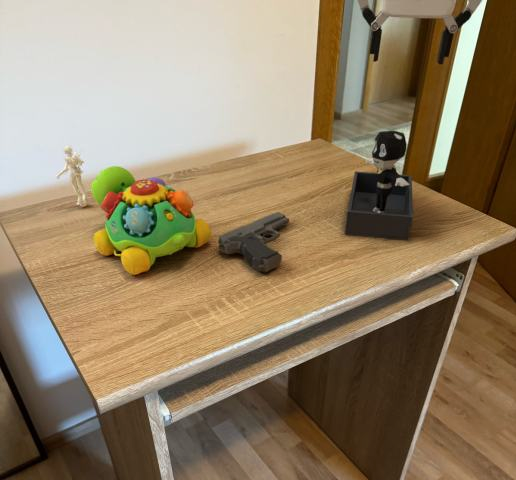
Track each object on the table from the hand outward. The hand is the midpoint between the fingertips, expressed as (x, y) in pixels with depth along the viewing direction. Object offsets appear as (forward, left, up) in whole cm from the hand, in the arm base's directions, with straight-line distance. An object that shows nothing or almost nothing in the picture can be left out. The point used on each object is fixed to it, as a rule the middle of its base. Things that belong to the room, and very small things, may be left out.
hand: (407, 61), depth 75 cm
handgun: (+19, +14, -27) cm, 35 cm away
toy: (+1, -2, -26) cm, 26 cm away
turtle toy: (+40, +17, -27) cm, 51 cm away
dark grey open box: (+1, -2, -27) cm, 27 cm away
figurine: (+59, +6, -27) cm, 65 cm away
